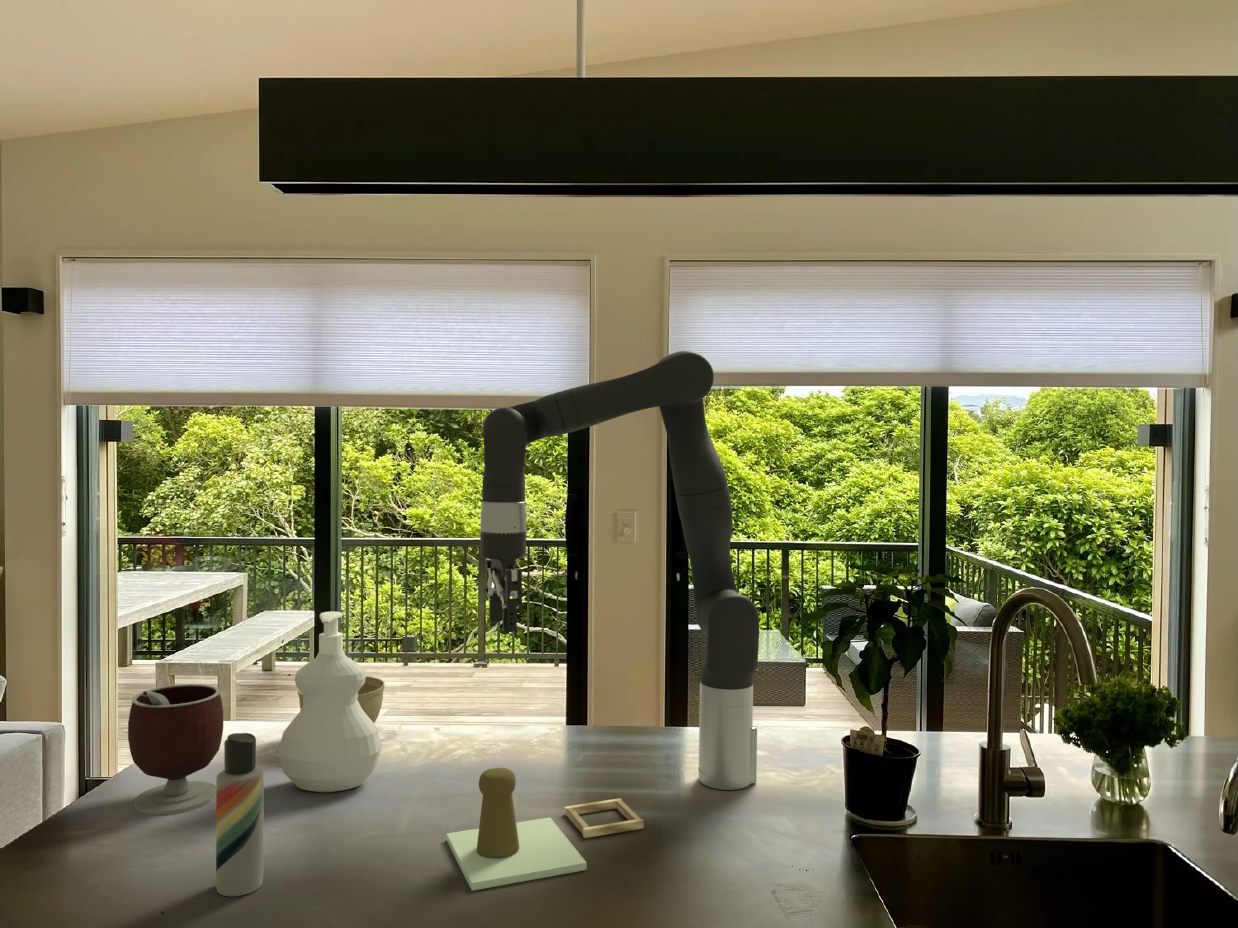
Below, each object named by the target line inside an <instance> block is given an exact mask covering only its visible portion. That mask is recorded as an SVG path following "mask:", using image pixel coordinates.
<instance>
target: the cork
mask: <svg viewBox="0 0 1238 928" xmlns="http://www.w3.org/2000/svg"><path fill="white" fill-rule="evenodd" d="M516 781H517V780H516V775H515V774H514V772H513V771H512V770H511V769H509V768H505V767H493V768H488V769H486V770H484V771H483V772H482V773H481V774H480V776H479V779H478V788H479V791H480V793H481V794H482V801H481V808H480V817H479V824H478V825H479V826H478V827H479V828H478V829H479V833H478V842H477V850H476V851H477V852H478V853H479V854H480V855H483V856H487V857H502V856H507V855H510V854H513V853H515V852H517V851H518V849H519V840H518V833H517V826H516V823H517V820H516V814H515V806H514V801H513V800H514V798H513V792H514V791H515V788H516V785H517V783H516Z"/></svg>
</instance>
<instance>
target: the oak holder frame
mask: <svg viewBox="0 0 1238 928" xmlns="http://www.w3.org/2000/svg"><path fill="white" fill-rule="evenodd" d="M563 809H564V810H563V812H564V814H563V815H564V816H565V817H567V818H568V819H569V820H570V821H571V822H572V823H573V825H574V826H575V827H576V828H577V830H579V832H580V833H581V834H582V837H583V838H584V839H588V838H589V839H590V838H593V837H598V836H605V835H611V834H612V835H613V834H617V833H622V832H623V833H624V832H629V831H636V830H642V829H644V825H645V822H644V819H643V818H640V817H639V816H638V815H637V814H636V813H635V812H634V811H633V810H632V809H631V808H630V807H629V806H628V805H627V804H626V803H625V802H624V801H623V799H622V798H614V799H607V800H606V799H605V800H600V801H599V800H598V801H593V802H587V803H580V804H574V805H567V806H564V807H563ZM615 809H616V810H618V811H619V813H621V814H622V816H624V817H625V818H626V819H627V820H624V821H618V822H611V823H605V824H599V825H593V826H589V825H588V823H586V822H585V821H584V819H583V818H582V817H581V816H580V815H582V814H589V813H594V812H601V811H609V810H615Z"/></svg>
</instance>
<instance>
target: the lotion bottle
mask: <svg viewBox="0 0 1238 928" xmlns="http://www.w3.org/2000/svg"><path fill="white" fill-rule="evenodd" d="M256 737H257V736H255V735H254V734H252V733H248V732H238V733H236V732H235V733H231V734H228V736H227V738H226V739H225V740H224V742H223V743H224V745H223V746H224V751H223V752H224V756H223V757H224V762H223V763H224V765H223V766H224V769H223V770H221V771H219V772H218V773H217V775H216V782H215V783H216V784H215V786H216V798H215V799H216V800H215V801H216V802H215V805H216V806H215V808H216V809H215V812H216V814H215V819H216V820H215V823H216V824H215V829H216V830H215V832H216V833H215V840H216V841H215V842H216V843H215V847H216V849H215V886H216V891H217V892H218V894H220V895H221V896H224V897H241V896H245V895H247V894H251V893H253V892H255V891H257V890H258V889H259V888H260V887H261V886H262V884H263V880H264V790H265V789H264V785H265V784H264V782H265V781H264V770H263V768H262V767H261V766H258V765H257V763H256V762H257V738H256Z"/></svg>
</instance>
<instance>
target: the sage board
mask: <svg viewBox="0 0 1238 928" xmlns="http://www.w3.org/2000/svg"><path fill="white" fill-rule="evenodd" d="M516 826H517V833H518V840H519V849H518V851H517V852H515V853H513V854H510V855H507V856H502V857H487V856H483V855H480V854H479V853H478V852H477V851H476V850H477V842H478V833H479V828H473V829H467V830H462V831H454V832H449V833H448V832H447V833H446V842H447V844H448V847H449V848H450V850H451V853H452V854H453V856H454V858H455V860H456V862H457V864H458V866H459V869H460V870H461V872H462V874H463V875H464V878H465V880H466V882H467V884H468V886H469V888H470V890H471V891H477V890H482V889H484V890H485V889H489V888H490V889H491V888H493V887H494V888H495V887H500V886H506V885H510V884H516V883H522V882H528V881H532V880H537V879H539V880H540V879H543V878H548V877H554V876H561V875H565V874H571V873H577V872H583V871H587V870H588V869H587V868H588V867H587V864H588V862H587V861H586V860H585V858H584V857H583V856H582V855H581V853H579V851H578V849H576V847H574V845H573V844H572V842H570V840H569V838H568V837H567V836H566V835H565V834H564V833H563V831H562V830H561V829H560V828H559V826H558V825H557V824H556V822H555V821H554V820H553V819H552V818H551V817H544V818H537V819H532V820H524V821H519V822H517V821H516Z"/></svg>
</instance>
